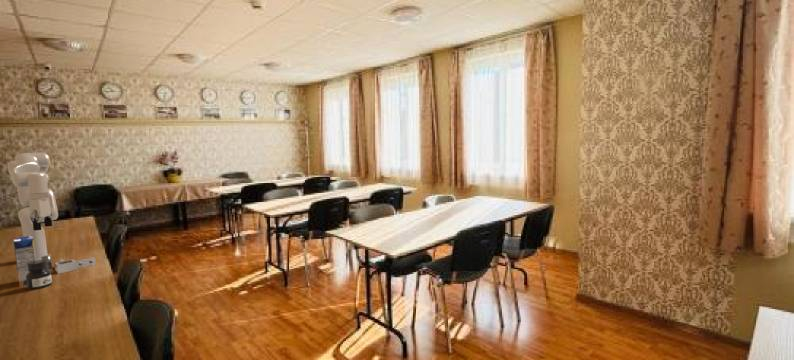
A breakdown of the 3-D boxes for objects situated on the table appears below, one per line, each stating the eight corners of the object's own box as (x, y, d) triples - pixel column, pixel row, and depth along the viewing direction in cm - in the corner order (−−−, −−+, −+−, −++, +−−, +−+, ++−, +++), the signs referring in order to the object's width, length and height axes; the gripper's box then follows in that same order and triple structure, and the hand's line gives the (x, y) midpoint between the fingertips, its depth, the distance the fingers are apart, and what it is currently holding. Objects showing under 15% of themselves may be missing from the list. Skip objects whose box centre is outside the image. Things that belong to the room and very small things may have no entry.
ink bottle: (36, 290, 184) (32, 265, 183) (21, 289, 186) (18, 265, 185) (57, 283, 194) (54, 259, 192) (43, 282, 195) (40, 258, 194)
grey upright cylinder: (42, 268, 217) (40, 256, 217) (51, 267, 220) (50, 254, 220) (43, 270, 215) (41, 257, 214) (53, 268, 218) (51, 256, 217)
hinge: (52, 267, 219) (51, 259, 219) (90, 260, 232) (89, 252, 231) (58, 273, 208) (57, 265, 207) (97, 265, 220) (96, 257, 220)
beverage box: (19, 286, 191) (13, 241, 189) (19, 280, 199) (13, 238, 197) (38, 282, 196) (33, 238, 193) (37, 277, 204) (32, 235, 201)
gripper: (40, 194, 215) (44, 225, 217) (19, 199, 199) (24, 232, 201) (56, 193, 217) (60, 224, 219) (37, 198, 201) (41, 231, 203)
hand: (43, 228), depth 210 cm, fingers open, 9 cm apart
